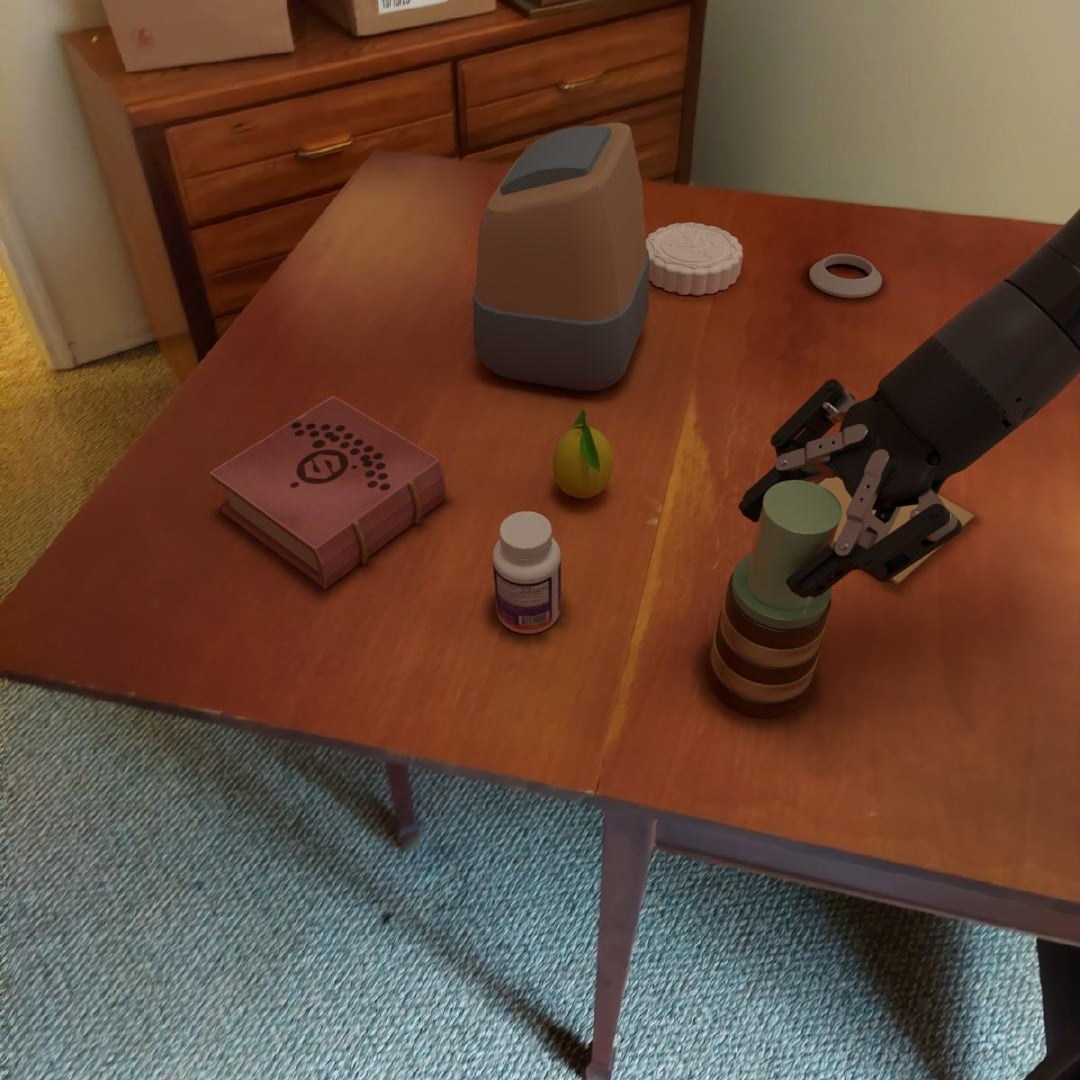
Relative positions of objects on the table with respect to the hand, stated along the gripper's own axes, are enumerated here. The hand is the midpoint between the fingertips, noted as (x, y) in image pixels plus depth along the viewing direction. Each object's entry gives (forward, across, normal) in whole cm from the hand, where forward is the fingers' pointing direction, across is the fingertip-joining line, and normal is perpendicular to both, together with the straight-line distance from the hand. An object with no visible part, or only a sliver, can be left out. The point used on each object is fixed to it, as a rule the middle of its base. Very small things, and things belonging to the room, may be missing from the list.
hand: (770, 551), depth 64 cm
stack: (+9, 0, +12) cm, 15 cm away
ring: (-16, -50, +37) cm, 64 cm away
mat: (-4, -13, +24) cm, 28 cm away
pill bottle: (+20, -12, +1) cm, 23 cm away
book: (+30, -28, -9) cm, 42 cm away
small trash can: (+10, -46, +11) cm, 48 cm away
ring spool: (+2, 0, +4) cm, 5 cm away
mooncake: (-4, -57, +25) cm, 62 cm away
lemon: (+14, -23, +7) cm, 28 cm away
